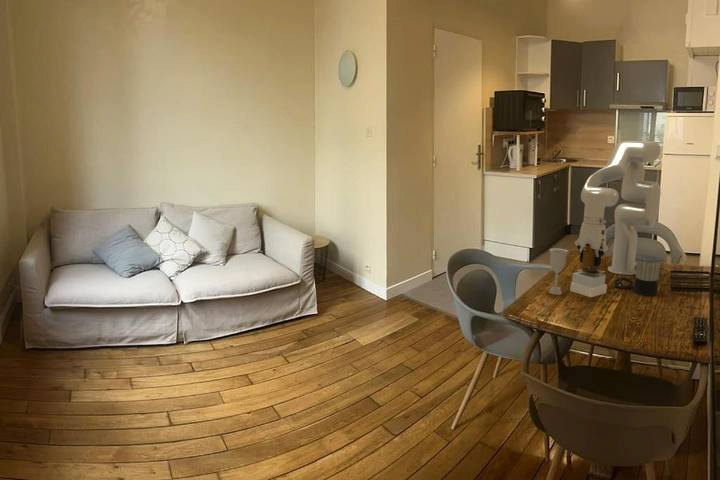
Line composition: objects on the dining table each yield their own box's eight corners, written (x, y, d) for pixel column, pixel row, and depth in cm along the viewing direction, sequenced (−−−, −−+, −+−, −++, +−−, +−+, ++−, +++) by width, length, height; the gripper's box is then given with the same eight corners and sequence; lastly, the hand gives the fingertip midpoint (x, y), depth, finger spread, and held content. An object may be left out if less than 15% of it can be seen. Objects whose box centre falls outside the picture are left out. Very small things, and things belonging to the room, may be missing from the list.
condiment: (586, 267, 249) (588, 239, 247) (605, 271, 243) (608, 243, 240) (577, 271, 245) (579, 242, 242) (596, 275, 238) (598, 246, 236)
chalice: (544, 293, 244) (547, 251, 240) (548, 289, 250) (551, 247, 246) (563, 296, 241) (566, 253, 237) (566, 291, 247) (569, 249, 243)
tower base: (585, 287, 253) (585, 278, 252) (606, 293, 245) (607, 284, 244) (570, 291, 248) (570, 282, 247) (591, 298, 240) (591, 288, 239)
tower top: (585, 279, 252) (586, 270, 251) (604, 284, 244) (605, 275, 243) (572, 282, 247) (572, 273, 246) (590, 288, 240) (591, 278, 239)
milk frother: (660, 296, 240) (664, 261, 237) (618, 294, 243) (622, 259, 240) (651, 286, 254) (654, 252, 250) (611, 284, 257) (615, 250, 253)
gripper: (618, 223, 235) (614, 267, 239) (581, 216, 249) (578, 257, 253) (606, 225, 231) (602, 270, 235) (569, 218, 245) (566, 260, 249)
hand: (589, 263), depth 244 cm, fingers closed on condiment, 6 cm apart
